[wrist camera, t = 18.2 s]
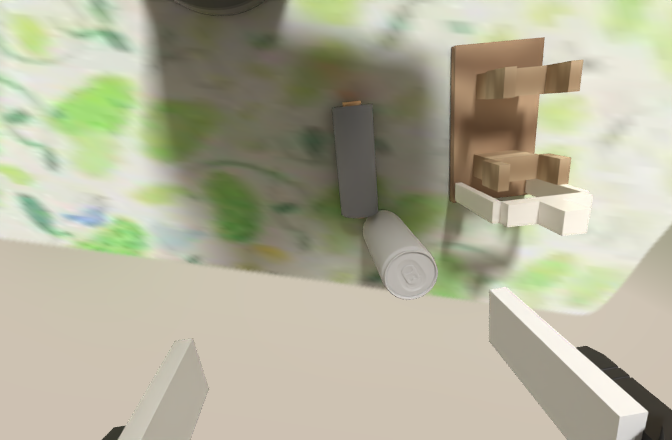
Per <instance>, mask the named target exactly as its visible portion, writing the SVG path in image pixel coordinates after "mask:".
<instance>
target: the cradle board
mask: <svg viewBox="0 0 672 440" xmlns="http://www.w3.org/2000/svg"><path fill="white" fill-rule="evenodd" d="M544 38H545V37H544ZM544 38H533V39H522V40H511V41H501V42H490V43H479V44H468V45H457V46H454V47H452V57H451V142H450V201H451V202H453V203H456V201H455V183H461V182H462V183H464V184H466V185H468V186H470V187H472V188H474V189H476V190H478V191H480V192H482V193H485V194H487V195H489V196H491V197H493V198H500V197H509V196H518V195H526V194H527V193H525V188H526V180H530V179H539V180H542V181H546V182H549V183H552V184H555V185H563V184H568V180H569V172H570V164H571V158H570V157H565V156H560V155H554V154H534V151H535V139H536V128H537V117H538V106H539V94H546V93H562V92H574V91H580V83H581V74H582V66H583V60H576V61H568V62H563V63H557V64H552V65H546V66H542V61H543V49H544Z"/></svg>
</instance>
